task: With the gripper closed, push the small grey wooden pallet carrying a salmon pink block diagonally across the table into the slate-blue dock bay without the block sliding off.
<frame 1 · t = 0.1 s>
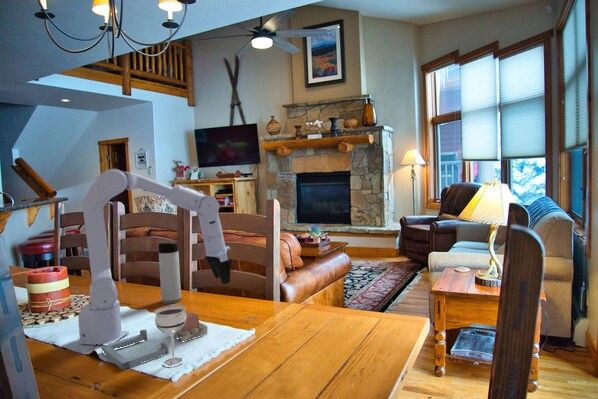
hand: (222, 280, 119), 10 cm above the table, tool pointing down, fingers open, 7 cm apart
travel mug: (171, 301, 135), on the table
salmon pink block: (188, 326, 106), point 2 cm above the table, touching pallet
wineglass: (173, 363, 91), on the table
pallet: (188, 335, 106), on the table, touching salmon pink block
dock: (137, 352, 97), on the table
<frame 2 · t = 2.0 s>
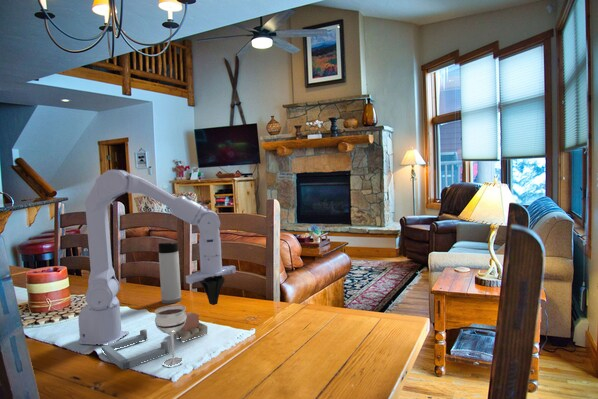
hand: (213, 303, 111), 6 cm above the table, tool pointing down, fingers closed
nothing on the table moved.
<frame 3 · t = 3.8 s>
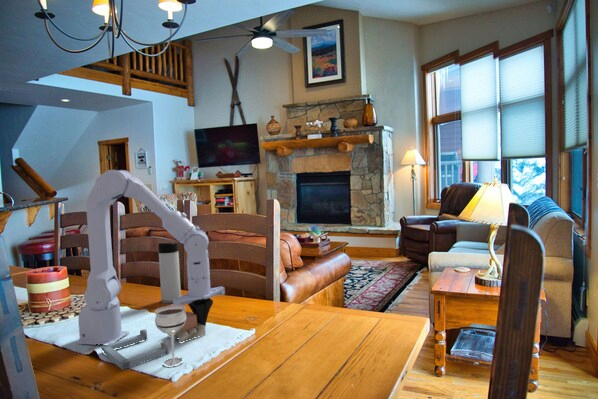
hand: (201, 326, 109), 1 cm above the table, tool pointing down, fingers closed
pallet: (186, 335, 106), on the table, touching salmon pink block, gripper
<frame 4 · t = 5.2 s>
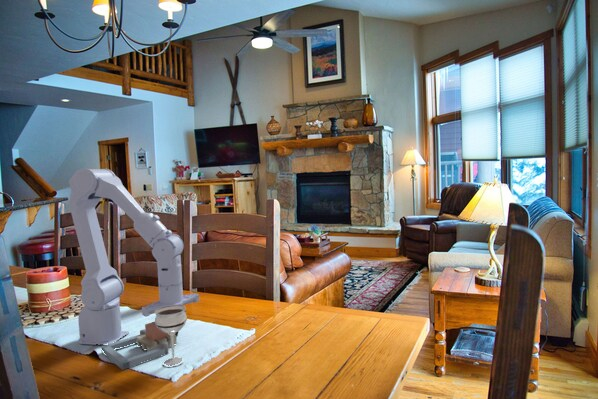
hand: (173, 336, 103), 1 cm above the table, tool pointing down, fingers closed
salmon pink block: (157, 335, 100), point 2 cm above the table, touching pallet
pallet: (156, 345, 100), on the table, touching salmon pink block, gripper
everything else where it was.
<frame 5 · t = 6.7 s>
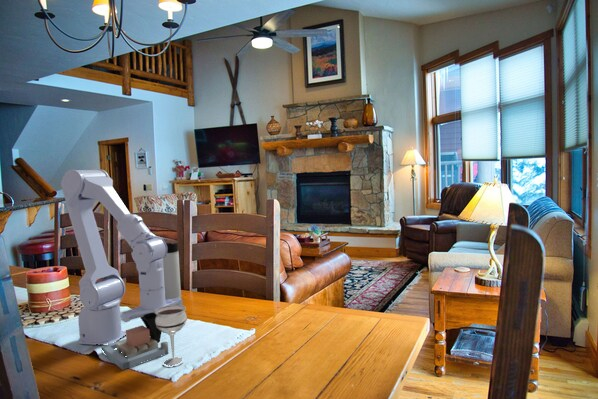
hand: (155, 342, 100), 1 cm above the table, tool pointing down, fingers closed
salmon pink block: (138, 342, 97), point 2 cm above the table, touching pallet
pallet: (137, 352, 97), on the table, touching salmon pink block, gripper
everything else where it was.
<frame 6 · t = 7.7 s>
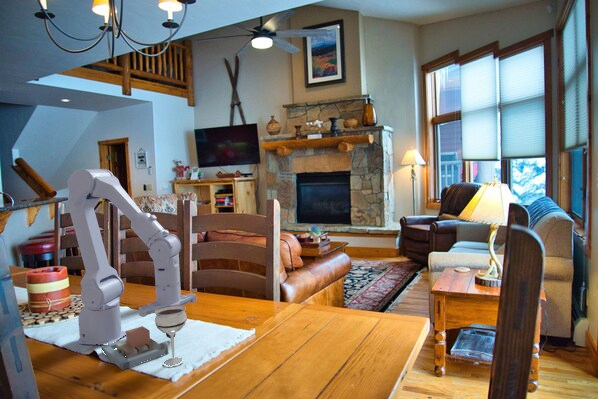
hand: (170, 336, 103), 1 cm above the table, tool pointing down, fingers closed
pallet: (137, 353, 97), on the table, touching salmon pink block
everything else where it was.
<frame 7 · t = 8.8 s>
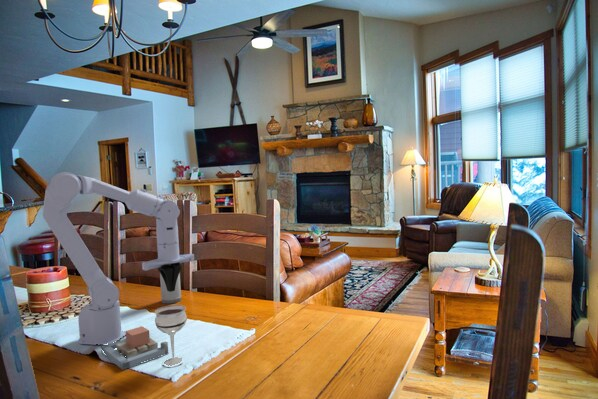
hand: (171, 290, 114), 9 cm above the table, tool pointing down, fingers closed
nothing on the table moved.
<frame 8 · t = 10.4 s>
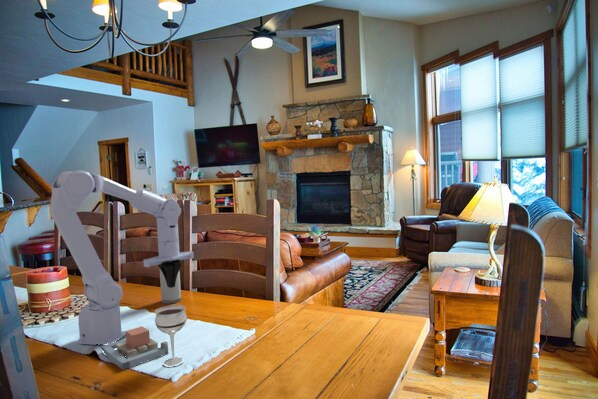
hand: (171, 286, 118), 9 cm above the table, tool pointing down, fingers closed
nothing on the table moved.
at the end: pallet 0.1 cm off-centre on the dock, point 0.0 cm above the dock's base; salmon pink block 0.3 cm from the pallet (horizontally); salmon pink block point 2.2 cm above the table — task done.
